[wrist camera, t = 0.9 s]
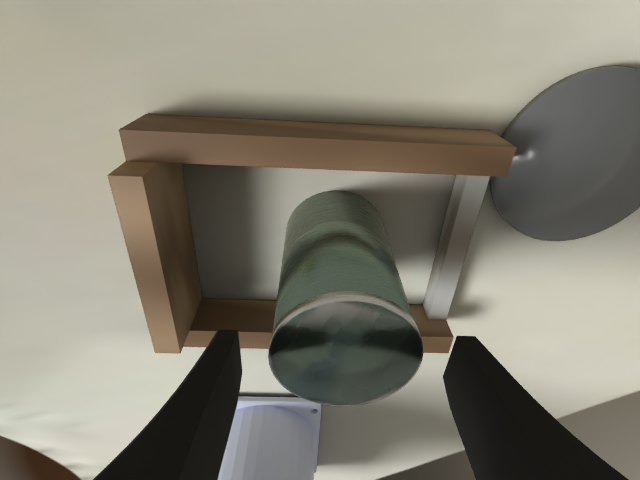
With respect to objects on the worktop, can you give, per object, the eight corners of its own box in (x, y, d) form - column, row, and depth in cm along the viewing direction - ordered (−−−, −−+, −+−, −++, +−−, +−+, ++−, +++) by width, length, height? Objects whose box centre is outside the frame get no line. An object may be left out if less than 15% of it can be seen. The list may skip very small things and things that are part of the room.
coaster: (620, 237, 19) (629, 243, 19) (470, 232, 19) (474, 238, 18) (713, 70, 15) (727, 72, 15) (522, 60, 15) (530, 62, 14)
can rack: (435, 320, 22) (457, 376, 19) (184, 313, 22) (159, 369, 18) (490, 130, 16) (537, 160, 13) (145, 114, 16) (98, 141, 12)
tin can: (377, 276, 20) (408, 407, 14) (285, 273, 20) (270, 404, 13) (390, 192, 18) (438, 302, 11) (285, 187, 18) (266, 297, 11)
